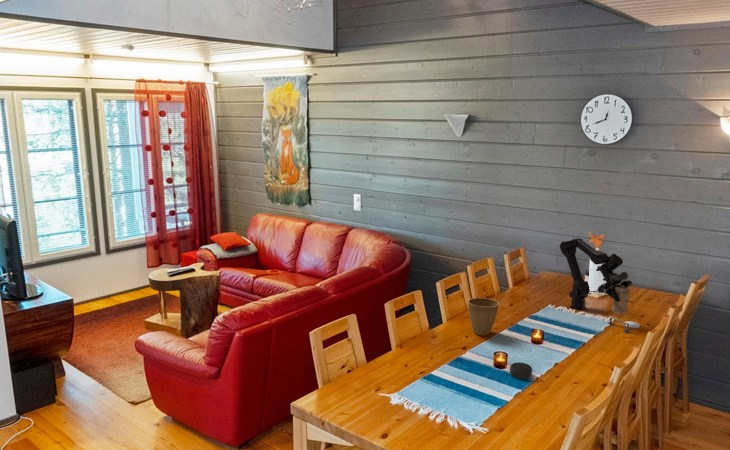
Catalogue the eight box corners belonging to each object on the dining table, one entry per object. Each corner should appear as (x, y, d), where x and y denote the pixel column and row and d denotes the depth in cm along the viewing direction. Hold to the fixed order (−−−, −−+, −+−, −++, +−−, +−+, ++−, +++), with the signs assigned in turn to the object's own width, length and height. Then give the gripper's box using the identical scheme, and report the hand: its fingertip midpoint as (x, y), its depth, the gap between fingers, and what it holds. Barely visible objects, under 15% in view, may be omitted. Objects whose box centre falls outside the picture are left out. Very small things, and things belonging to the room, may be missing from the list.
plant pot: (497, 339, 285) (499, 307, 282) (466, 337, 287) (467, 305, 284) (497, 328, 299) (498, 298, 296) (467, 326, 302) (468, 296, 299)
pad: (620, 325, 306) (620, 323, 306) (626, 321, 312) (626, 320, 311) (636, 329, 300) (636, 327, 300) (642, 325, 306) (642, 324, 306)
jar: (600, 290, 367) (602, 271, 365) (593, 292, 362) (595, 273, 360) (587, 286, 374) (589, 268, 372) (580, 289, 369) (582, 270, 367)
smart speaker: (515, 368, 253) (515, 359, 252) (535, 374, 247) (535, 365, 246) (506, 375, 246) (506, 366, 245) (526, 381, 240) (526, 372, 240)
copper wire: (606, 323, 308) (607, 315, 307) (611, 323, 309) (612, 314, 308) (625, 333, 295) (626, 324, 294) (631, 332, 296) (631, 324, 295)
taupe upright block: (611, 311, 306) (614, 287, 304) (619, 310, 308) (622, 286, 305) (619, 314, 302) (622, 290, 299) (626, 313, 303) (629, 289, 301)
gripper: (604, 268, 300) (618, 295, 292) (631, 265, 307) (646, 291, 300) (591, 279, 309) (605, 305, 301) (618, 275, 316) (632, 301, 308)
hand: (622, 301), depth 302 cm, fingers closed on taupe upright block, 5 cm apart
